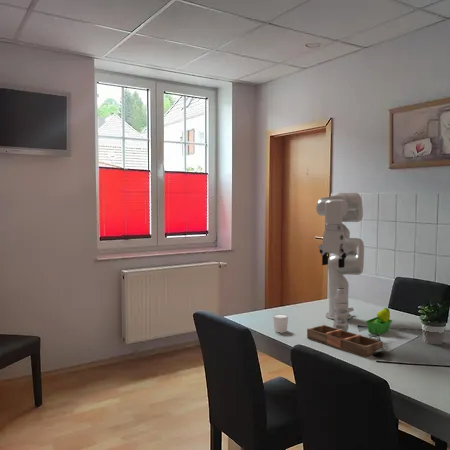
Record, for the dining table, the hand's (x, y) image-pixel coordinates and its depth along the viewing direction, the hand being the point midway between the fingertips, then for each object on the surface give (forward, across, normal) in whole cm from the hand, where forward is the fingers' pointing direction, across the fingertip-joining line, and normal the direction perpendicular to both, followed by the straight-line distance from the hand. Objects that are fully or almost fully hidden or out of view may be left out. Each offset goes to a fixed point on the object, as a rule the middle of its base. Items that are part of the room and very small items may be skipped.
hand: (333, 266), depth 206 cm
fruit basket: (+31, -12, -18) cm, 37 cm away
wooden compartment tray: (+30, -15, +10) cm, 35 cm away
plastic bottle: (+30, -2, -3) cm, 31 cm away
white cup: (+30, +15, +18) cm, 38 cm away
